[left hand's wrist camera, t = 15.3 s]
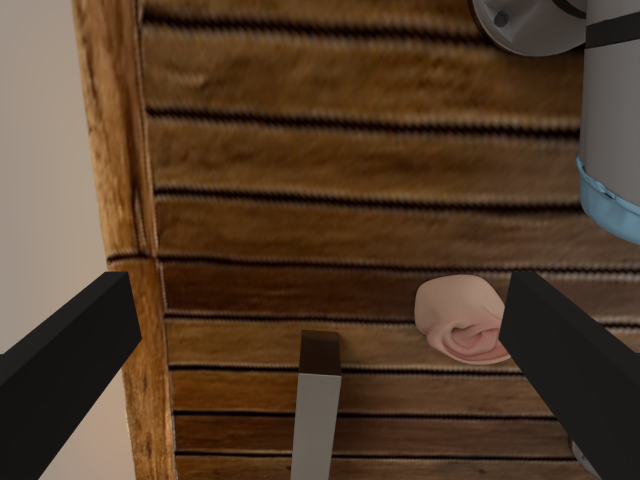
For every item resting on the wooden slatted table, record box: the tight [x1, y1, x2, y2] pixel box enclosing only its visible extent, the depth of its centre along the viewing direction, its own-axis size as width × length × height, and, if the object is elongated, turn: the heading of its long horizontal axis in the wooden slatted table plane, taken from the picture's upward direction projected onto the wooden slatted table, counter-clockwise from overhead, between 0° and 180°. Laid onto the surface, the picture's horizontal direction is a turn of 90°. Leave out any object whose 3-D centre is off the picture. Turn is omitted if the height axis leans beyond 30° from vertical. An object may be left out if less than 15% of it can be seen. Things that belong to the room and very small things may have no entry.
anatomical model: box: [414, 275, 511, 365], centre depth 46 cm, size 13×4×12 cm
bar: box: [291, 330, 342, 480], centre depth 49 cm, size 22×5×8 cm, turn 175°
